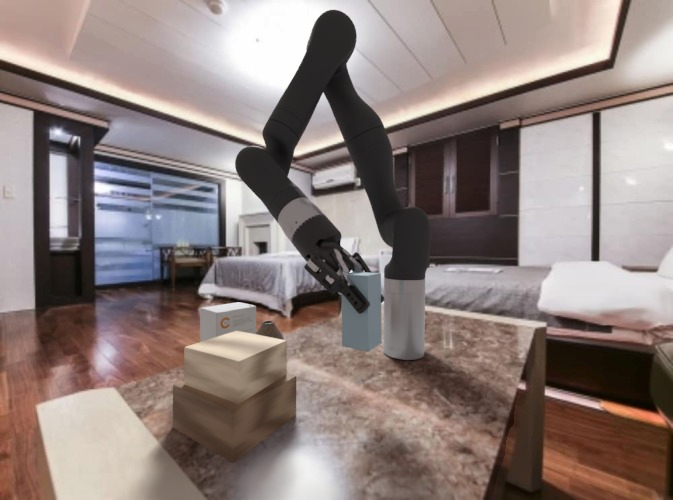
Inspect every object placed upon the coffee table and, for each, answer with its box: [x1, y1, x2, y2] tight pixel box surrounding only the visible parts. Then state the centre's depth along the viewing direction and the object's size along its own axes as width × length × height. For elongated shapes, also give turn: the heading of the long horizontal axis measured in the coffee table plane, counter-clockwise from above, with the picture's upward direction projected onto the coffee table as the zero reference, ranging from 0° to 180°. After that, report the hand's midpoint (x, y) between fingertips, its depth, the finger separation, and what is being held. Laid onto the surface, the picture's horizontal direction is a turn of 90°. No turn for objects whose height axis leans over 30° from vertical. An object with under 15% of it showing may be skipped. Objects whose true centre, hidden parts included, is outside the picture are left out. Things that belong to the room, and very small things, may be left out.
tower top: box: [183, 331, 288, 404], centre depth 41 cm, size 9×10×5 cm
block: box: [341, 271, 383, 352], centre depth 45 cm, size 4×4×11 cm
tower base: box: [172, 372, 297, 463], centre depth 40 cm, size 11×12×6 cm
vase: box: [256, 320, 285, 340], centre depth 60 cm, size 7×7×9 cm
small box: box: [199, 301, 257, 342], centre depth 54 cm, size 8×6×13 cm
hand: (372, 306), depth 44 cm, fingers closed on block, 4 cm apart
